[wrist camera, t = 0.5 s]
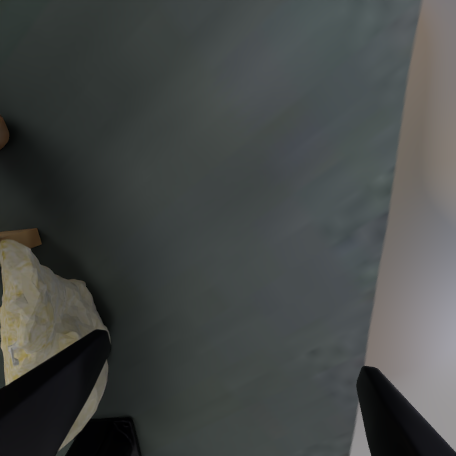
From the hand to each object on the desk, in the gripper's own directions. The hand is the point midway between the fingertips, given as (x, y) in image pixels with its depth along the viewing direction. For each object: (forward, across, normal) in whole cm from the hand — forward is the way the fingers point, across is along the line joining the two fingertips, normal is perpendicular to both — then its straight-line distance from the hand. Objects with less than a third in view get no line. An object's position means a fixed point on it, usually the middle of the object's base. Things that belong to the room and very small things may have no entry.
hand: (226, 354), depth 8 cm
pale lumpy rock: (+10, +16, +8) cm, 21 cm away
